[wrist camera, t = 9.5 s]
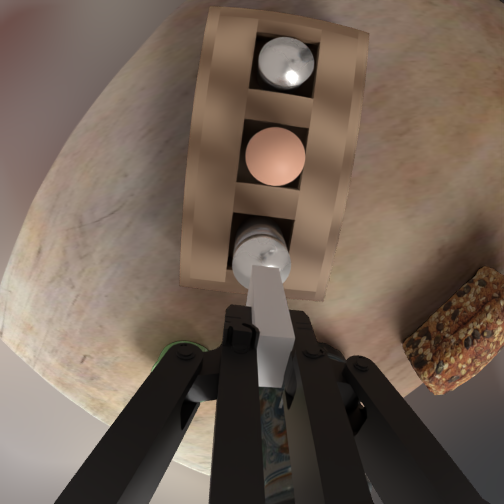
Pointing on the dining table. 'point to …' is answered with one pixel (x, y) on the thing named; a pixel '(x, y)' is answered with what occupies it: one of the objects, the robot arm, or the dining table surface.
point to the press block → (255, 120)
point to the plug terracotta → (275, 156)
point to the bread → (460, 334)
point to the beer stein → (280, 441)
